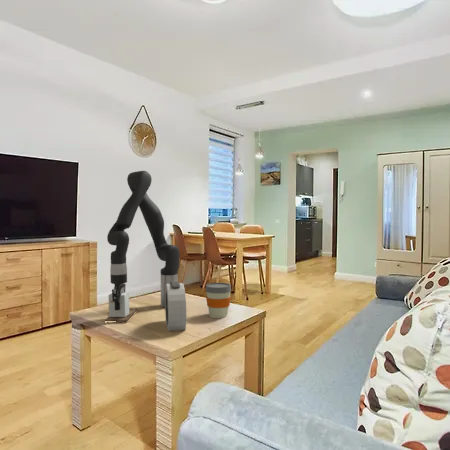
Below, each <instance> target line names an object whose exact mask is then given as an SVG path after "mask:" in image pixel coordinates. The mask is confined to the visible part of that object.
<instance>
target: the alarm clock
mask: <svg viewBox="0 0 450 450" xmlns="http://www.w3.org/2000/svg"><path fill="white" fill-rule="evenodd" d="M185 290H186V288H185V285H184V282H179V281H173V282H170V284H166V287H165V307H164V311H165V313H164V315H165V316H164V317H165V325H166V329H167V332H176V331H177V332H178V331H185V330H186V329H187V297H186V291H185Z"/></svg>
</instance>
